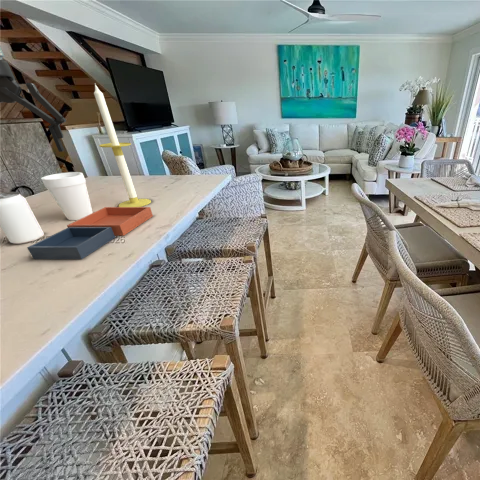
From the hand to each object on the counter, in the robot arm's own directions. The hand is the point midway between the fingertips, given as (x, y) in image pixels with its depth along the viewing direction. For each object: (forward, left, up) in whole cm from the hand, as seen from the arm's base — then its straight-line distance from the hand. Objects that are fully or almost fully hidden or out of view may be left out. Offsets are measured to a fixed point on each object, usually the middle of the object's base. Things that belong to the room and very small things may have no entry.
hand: (28, 153), depth 71 cm
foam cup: (+2, +5, -20) cm, 21 cm away
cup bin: (+18, -2, -20) cm, 27 cm away
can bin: (+18, -16, -20) cm, 31 cm away
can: (+1, -11, -20) cm, 23 cm away
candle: (+12, +17, -20) cm, 29 cm away
